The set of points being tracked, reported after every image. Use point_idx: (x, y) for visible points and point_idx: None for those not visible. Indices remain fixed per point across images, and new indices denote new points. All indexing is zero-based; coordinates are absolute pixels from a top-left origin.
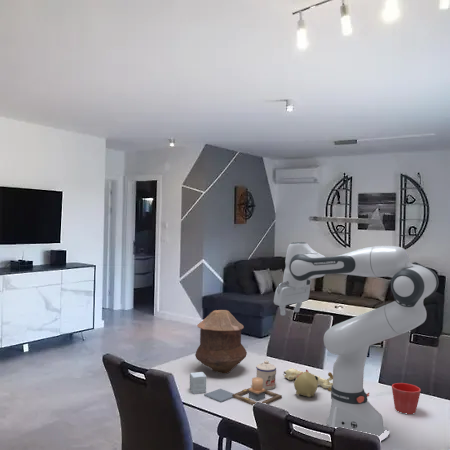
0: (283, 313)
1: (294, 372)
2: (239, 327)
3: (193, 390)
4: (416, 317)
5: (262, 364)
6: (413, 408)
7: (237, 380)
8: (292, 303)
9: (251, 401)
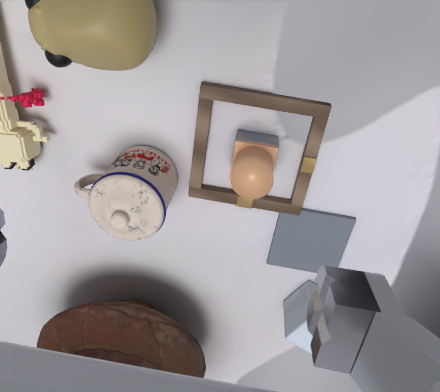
0: (392, 298)
1: (11, 131)
2: None
3: None
4: None
5: (138, 224)
6: None
7: (167, 258)
8: (199, 380)
9: (317, 143)
